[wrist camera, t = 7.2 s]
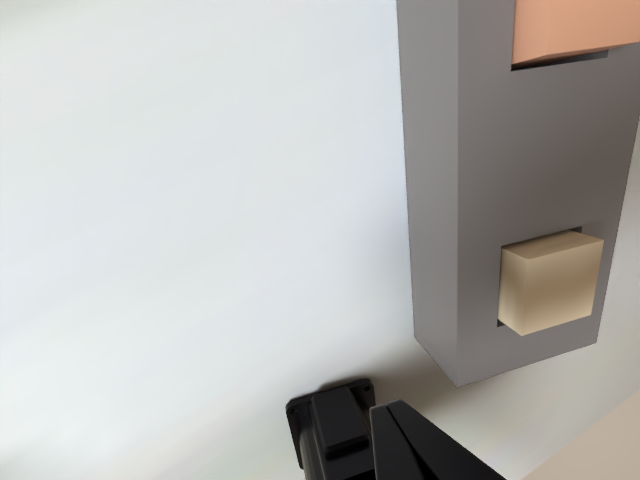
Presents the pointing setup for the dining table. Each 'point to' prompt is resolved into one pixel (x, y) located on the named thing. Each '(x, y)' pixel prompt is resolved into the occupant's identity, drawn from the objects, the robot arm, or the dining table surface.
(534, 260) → the ash key
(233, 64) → the dining table surface
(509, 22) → the key housing
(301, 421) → the robot arm
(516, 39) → the terracotta key
